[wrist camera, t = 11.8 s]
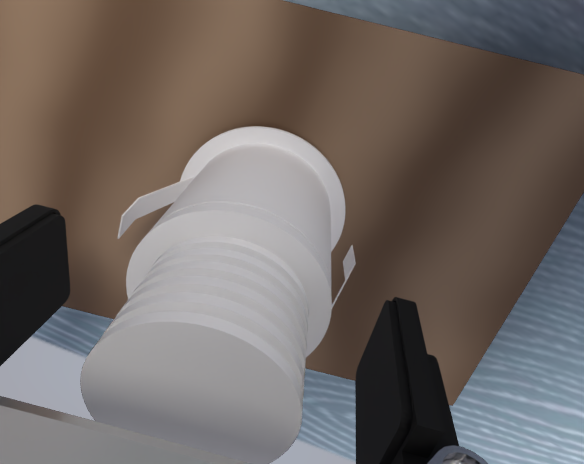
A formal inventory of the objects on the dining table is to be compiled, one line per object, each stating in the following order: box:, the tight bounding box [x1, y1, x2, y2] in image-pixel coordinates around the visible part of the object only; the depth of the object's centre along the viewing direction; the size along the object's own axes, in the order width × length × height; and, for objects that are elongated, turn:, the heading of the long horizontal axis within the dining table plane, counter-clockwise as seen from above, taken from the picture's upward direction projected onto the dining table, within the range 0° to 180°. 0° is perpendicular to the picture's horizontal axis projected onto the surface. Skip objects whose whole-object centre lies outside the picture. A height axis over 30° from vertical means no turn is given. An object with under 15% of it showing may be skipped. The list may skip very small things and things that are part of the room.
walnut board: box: [0, 0, 584, 406], centre depth 18 cm, size 24×16×2 cm, turn 78°
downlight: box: [80, 126, 356, 464], centre depth 13 cm, size 8×7×10 cm
